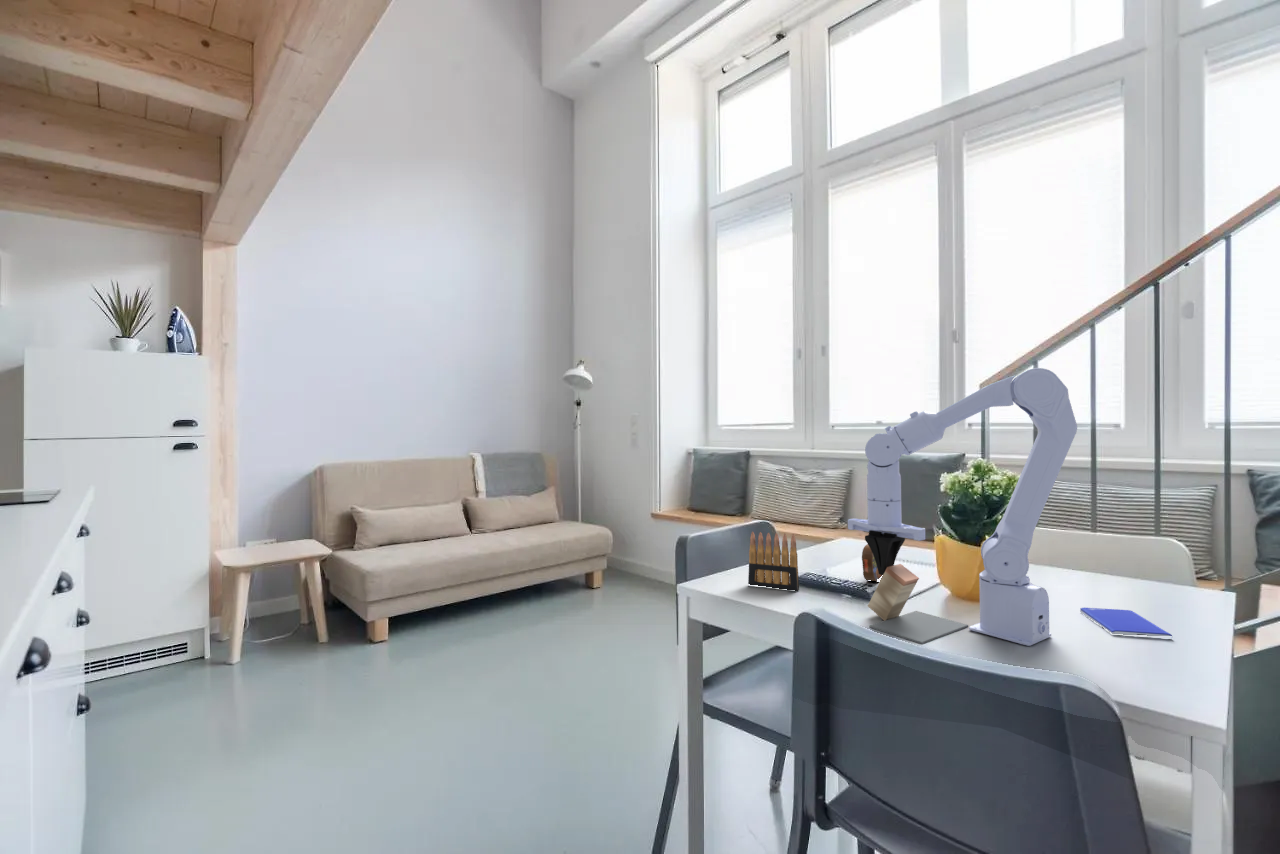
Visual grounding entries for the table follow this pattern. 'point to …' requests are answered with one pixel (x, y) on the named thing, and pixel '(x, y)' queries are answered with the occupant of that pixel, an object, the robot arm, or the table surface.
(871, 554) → the tin
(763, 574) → the ammunition clip
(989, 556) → the robot arm
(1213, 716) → the table surface
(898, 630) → the mat
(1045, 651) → the table surface
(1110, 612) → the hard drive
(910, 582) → the block
